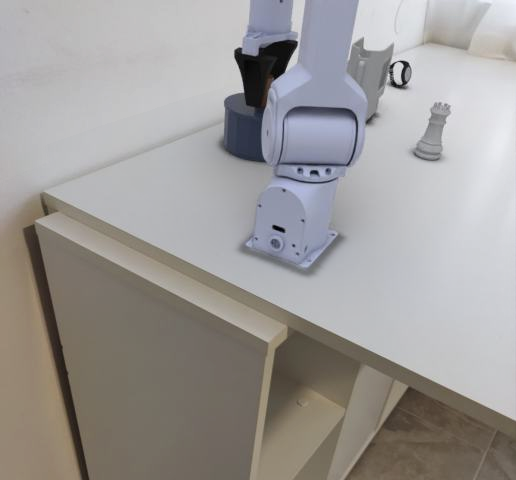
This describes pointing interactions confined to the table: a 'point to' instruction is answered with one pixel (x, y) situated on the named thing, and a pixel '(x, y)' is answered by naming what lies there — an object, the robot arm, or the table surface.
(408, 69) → the smartwatch
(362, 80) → the cable organizer
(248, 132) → the tin
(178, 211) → the table surface
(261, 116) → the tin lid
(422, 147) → the rook chess piece
